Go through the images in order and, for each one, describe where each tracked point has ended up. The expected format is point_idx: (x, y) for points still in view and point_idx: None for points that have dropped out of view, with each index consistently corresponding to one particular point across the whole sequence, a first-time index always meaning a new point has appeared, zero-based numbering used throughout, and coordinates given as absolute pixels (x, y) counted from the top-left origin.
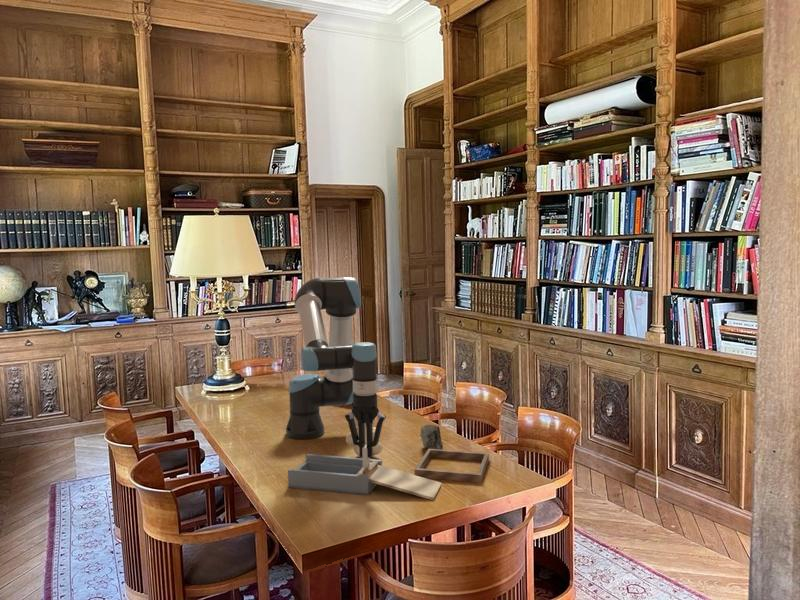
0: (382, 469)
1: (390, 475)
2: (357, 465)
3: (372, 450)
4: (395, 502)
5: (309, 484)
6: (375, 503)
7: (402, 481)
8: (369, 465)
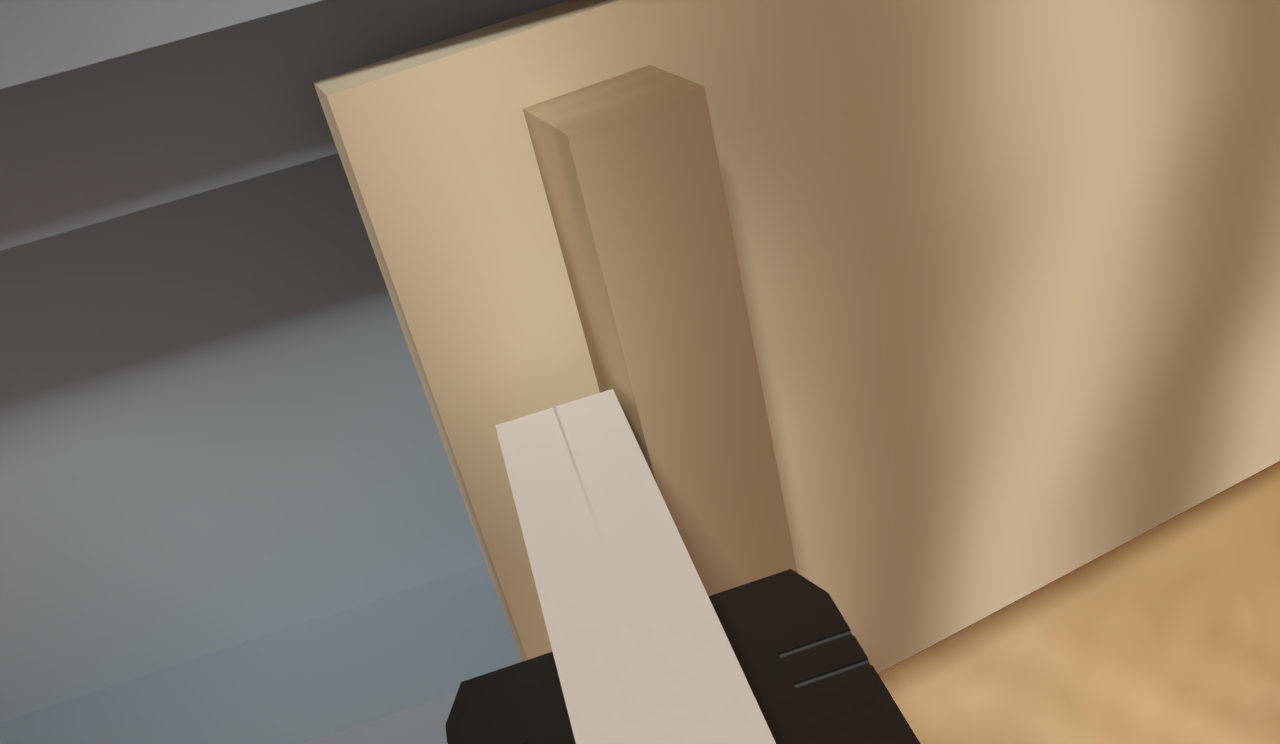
0: (831, 146)
1: (1053, 235)
2: (3, 130)
3: (885, 687)
4: (1170, 550)
5: None
6: (949, 696)
7: (1271, 237)
8: (670, 493)
